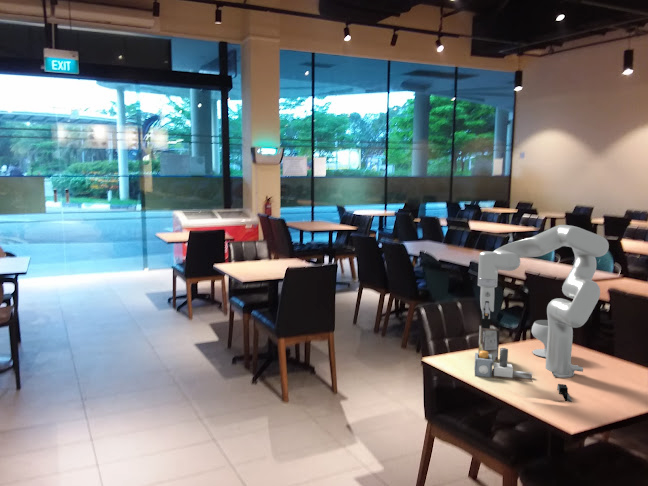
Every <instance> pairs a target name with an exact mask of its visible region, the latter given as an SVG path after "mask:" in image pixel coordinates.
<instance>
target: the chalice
mask: <svg viewBox="0 0 648 486" xmlns="http://www.w3.org/2000/svg"><path fill="white" fill-rule="evenodd" d="M531 334H532V336H533V338H534V339H535V338H536V339H537V340H538V341H540V342H541V343H542V344H543V345H544V348H538V349H533V350H532V353H533V355H534V356H535V355H536V356H538V357H541V358H545V359H546V353H547V338H548V319H537V320H535V321H534V322H533V324H532V326H531Z"/></svg>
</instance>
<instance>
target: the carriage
mask: <svg viewBox="0 0 648 486" xmlns="http://www.w3.org/2000/svg"><path fill="white" fill-rule="evenodd" d="M508 357H509V349H508V348H506V347H501V348H500V349H499V362H498V363H493V369H494V376H501V377H510V378H512V377H513V371H514V369H513V368H514V367H513V365H512V364H511V363H508V359H509V358H508Z"/></svg>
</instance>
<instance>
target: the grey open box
mask: <svg viewBox="0 0 648 486" xmlns="http://www.w3.org/2000/svg"><path fill="white" fill-rule="evenodd" d="M492 361H493V360H492V354H488V359H485V358H479V352H474V377H477V376H483V377H482V378H487V377H492V370H493V363H492Z"/></svg>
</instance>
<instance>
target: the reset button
mask: <svg viewBox="0 0 648 486" xmlns="http://www.w3.org/2000/svg"><path fill="white" fill-rule="evenodd" d="M478 353H479V358H485V359H488V353H489V352H488V351H483V350H481V351H479V350H478Z"/></svg>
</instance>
